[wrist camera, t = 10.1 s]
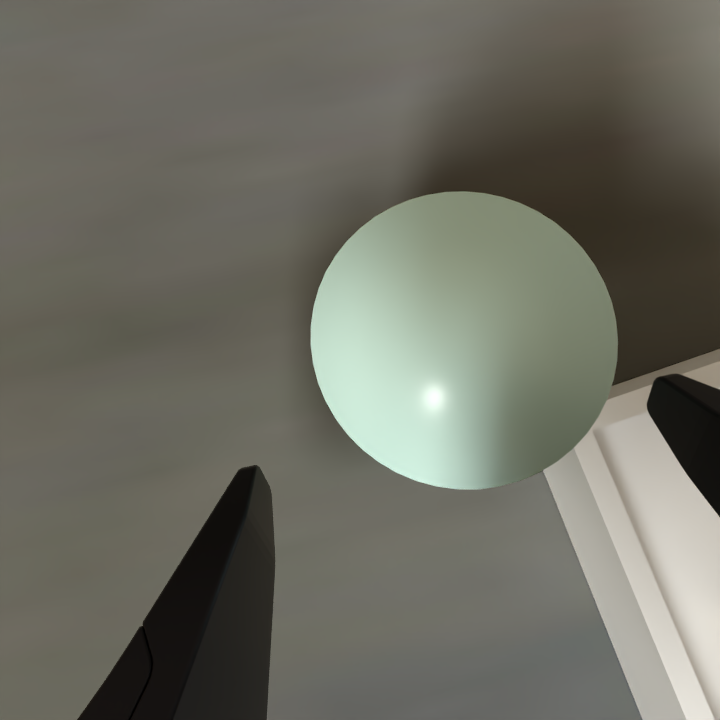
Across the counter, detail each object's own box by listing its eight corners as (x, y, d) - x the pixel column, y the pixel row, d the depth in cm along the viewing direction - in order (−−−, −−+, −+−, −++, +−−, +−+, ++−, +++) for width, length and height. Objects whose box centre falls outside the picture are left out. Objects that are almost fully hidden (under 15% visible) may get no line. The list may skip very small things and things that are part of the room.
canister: (483, 425, 18) (670, 427, 7) (375, 463, 18) (368, 534, 7) (442, 320, 19) (544, 152, 7) (338, 356, 19) (273, 247, 7)
